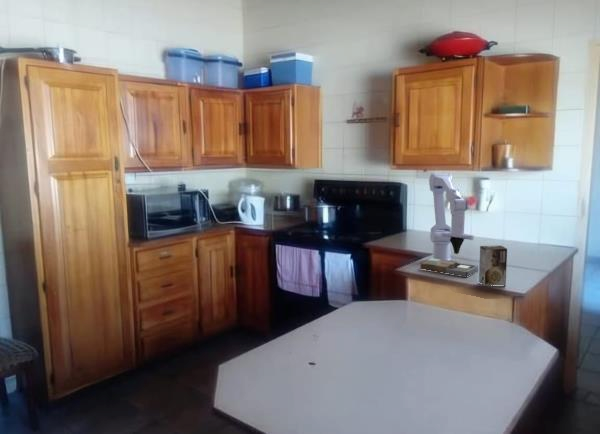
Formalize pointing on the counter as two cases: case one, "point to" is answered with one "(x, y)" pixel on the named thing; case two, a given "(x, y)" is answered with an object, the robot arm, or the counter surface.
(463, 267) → the cream tile
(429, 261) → the sage tile
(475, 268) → the box
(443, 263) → the flat brown block
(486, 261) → the coffee box
